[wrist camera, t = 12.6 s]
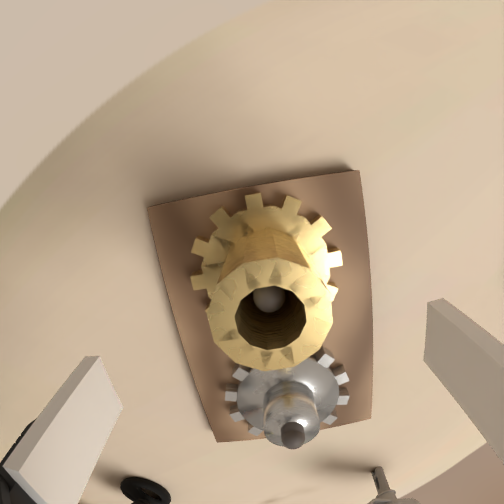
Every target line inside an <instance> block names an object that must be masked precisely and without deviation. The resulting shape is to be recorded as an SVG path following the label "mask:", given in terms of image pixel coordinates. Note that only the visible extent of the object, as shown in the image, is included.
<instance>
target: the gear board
mask: <svg viewBox="0 0 504 504" xmlns="http://www.w3.org/2000/svg"><path fill="white" fill-rule="evenodd" d="M258 192H261V197H262V203H263V206H264V205H270V204H273V205H276V206H278V207H281V205H282V202H283V200H284V197H285V194H286V195H289V196H291V197H294V198H296V199H299V200H301V201H302V202H301V205H300V208H299V210H298V213H297V214H300V215H302V216H304V217H305V218H306V219H307V220H308V222H310V221H311V220H313V219H314V218H315V217H316V216H317V215H319V214H320V215H321V216H323V218H324V219H325V220H326V221H327V223H328V224H329V225H330V227H331V228H332V229H330V230H329V231H328V232H327V233H326V234H324V235H323V236H322V237H321V238H322V239H323V241H324V242H325V243H326V245H327V249H329V248H334V247H337V248H338V249H339V250H340V251H341V257H342V266H337V267H331V268H329V271H330V278H329V280H328V281H330V282H333V283H335V284H336V286H337V287H338V291H337V293H336V295H335V297H334V299H333V302H332V301H331V306H332V317H333V324H332V326H331V328H330V330H329V332H328V334H327V336H326V338H325V340H324V342H323V344H322V346H323V347H324V348H326V349H328V350H329V351H331V352H332V353H333V356H334V358H335V360H334V361H333V362H332V363H331V364H330V365H329V366H330V367H331V368H332V370H333V369H334V368H336V367H338V366H341V365H343V366H344V369H345V371H346V373H347V376H348V378H349V381H348V382H346V383H343V384H341V385H338V386H339V388H347V390H348V392H349V395H350V396H349V399H348V403H347V405H336V406H335V408H334V410H336V413H337V417H338V418H337V419H336V420H335V421H334V422H333V423H332V424H331V425H329V424H327V423H324V422H321V423H320V430H322V429H327V428H332V427H336V426H341V425H346V424H350V423H354V422H358V421H363V420H367V419H370V418H371V410H372V386H373V316H372V291H371V274H370V260H369V248H368V237H367V227H366V217H365V209H364V201H363V193H362V185H361V178H360V172H359V170H353V171H345V172H338V173H330V174H323V175H316V176H310V177H303V178H296V179H290V180H284V181H278V182H272V183H266V184H260V185H254V186H249V187H243V188H238V189H232V190H227V191H222V192H217V193H211V194H206V195H201V196H196V197H192V198H187V199H182V200H177V201H173V202H168V203H164V204H159V205H155V206H151V207H148V208H147V210H148V215H149V220H150V224H151V229H152V233H153V237H154V242H155V246H156V250H157V254H158V258H159V262H160V266H161V270H162V274H163V278H164V282H165V285H166V289H167V293H168V296H169V300H170V304H171V307H172V311H173V314H174V318H175V321H176V325H177V328H178V331H179V335H180V338H181V341H182V344H183V348H184V351H185V354H186V357H187V360H188V363H189V366H190V369H191V372H192V375H193V378H194V381H195V384H196V387H197V390H198V393H199V396H200V398H201V401H202V404H203V407H204V410H205V412H206V415H207V418H208V420H209V423H210V426H211V428H212V431H213V434H214V436H215V439H216V441H217V442H231V441H243V440H254V439H263V438H266V436H265V434H264V431H262V432H261V433H260V434H259V435H258V436H255V435H253V434H251V433H249V432H248V423H249V422H248V421H246V420H245V419H244V420H240V421H237V422H234V420H233V419H232V418H231V416H230V415H229V413H230V406H233V405H236V404H237V401H225V391H226V384H227V383H231V384H238V383H239V380H238V379H236V378H234V377H233V376H232V371H233V367H234V366H235V365H236V364H237V363H235V362H234V361H233V360H232V359H231V358H230V357H229V356H228V355H227V354H226V353H225V352H224V351H223V350H222V349H221V348H219V347H218V346H217V345H216V344H215V343H214V340H213V336H212V332H211V329H210V325H209V321H208V317H207V313H206V312H205V309H206V306H207V304H208V303H210V302H211V299H210V298H209V297H208V292H207V288H206V289H200V290H193V286H192V282H191V278H190V276H191V274H192V273H193V271H199V270H202V267H201V265H202V262H203V259H204V257H202V256H199V255H196V254H193V253H191V251H192V247H193V244H194V241H195V238H196V237H197V236H198V235H200V236H202V237H205V238H208V239H210V238H211V235H212V233H213V232H214V231H215V230H216V229H217V228H218V227H217V226H216V225H215V224H214V222H213V221H212V220H211V219H210V218H209V217H210V216H211V215H212V214H214V213H215V212H216V211H217V210H218V209H219V208H220V207H222V206H224V207H225V208H226V209H227V211H228V212H229V213H230V214H231V215H234V214H235V213H236V212H237V211H238V210H241V209H247V205H246V200H245V195H247V194H252V193H258ZM253 298H254V302H255V304H256V306H257V307H258V308H259V309H260V310H262V311H264V312H274V311H277V310H278V309H280V308H281V307H282V305H283V303H284V301H285V292H284V288H281V287H278V286H275V285H274V286H268V287H262V288H256V289H254V293H253ZM322 346H321V347H322ZM320 349H321V348H320ZM320 349H319V350H320ZM319 350H318V351H319ZM318 351H317V352H318ZM317 352H315V353H314V354H313V355H315V354H316V353H317ZM337 383H338V382H337ZM281 440H282V443H283V445H284V446H285V447H286V448H289V449H297V448H299V447H301V446H302V445H303V443H304V441H305V433H304V427H303V425H302V424H301V423H298V422H289V423H286V424H284V425H283V426H282V427H281Z"/></svg>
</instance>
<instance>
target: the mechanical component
mask: <svg viewBox="0 0 504 504" xmlns="http://www.w3.org/2000/svg"><path fill="white" fill-rule="evenodd" d="M371 473H372V476H373V479H374V482H375V485H376V488H377V492H378V495H377V496H376V499H373V500H372V501H370V502H369V503H368V504H420V503H419V502H418V501H417V500H416V499H397V498H396V495H395V493H396V492H395V491H394V490H390V488H389V485H388V482H387V480H386V477H385V474H384V471H383V469H382V467H376V469H375V473H374V472H371Z"/></svg>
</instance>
